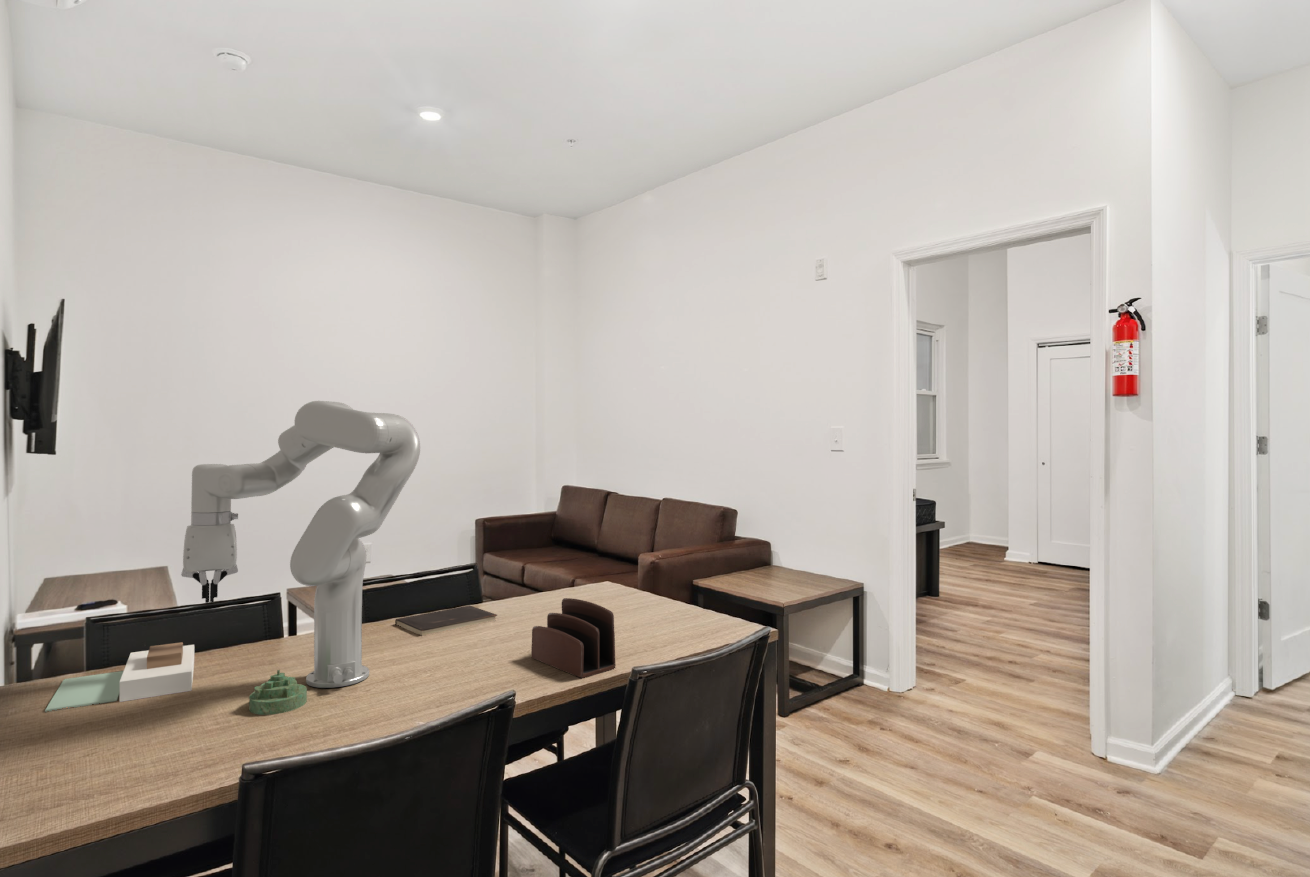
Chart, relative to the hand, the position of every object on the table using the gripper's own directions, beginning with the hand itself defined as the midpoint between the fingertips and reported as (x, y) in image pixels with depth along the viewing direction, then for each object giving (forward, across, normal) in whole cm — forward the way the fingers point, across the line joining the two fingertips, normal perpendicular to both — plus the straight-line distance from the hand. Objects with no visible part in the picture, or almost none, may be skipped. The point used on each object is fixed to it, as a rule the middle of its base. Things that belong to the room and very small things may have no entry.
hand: (209, 601), depth 158 cm
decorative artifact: (+16, -12, +29) cm, 35 cm away
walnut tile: (+11, +8, 0) cm, 13 cm away
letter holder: (+15, -72, +36) cm, 82 cm away
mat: (+16, +21, 0) cm, 26 cm away
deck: (+16, +9, 0) cm, 18 cm away
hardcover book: (+16, -57, -14) cm, 61 cm away
